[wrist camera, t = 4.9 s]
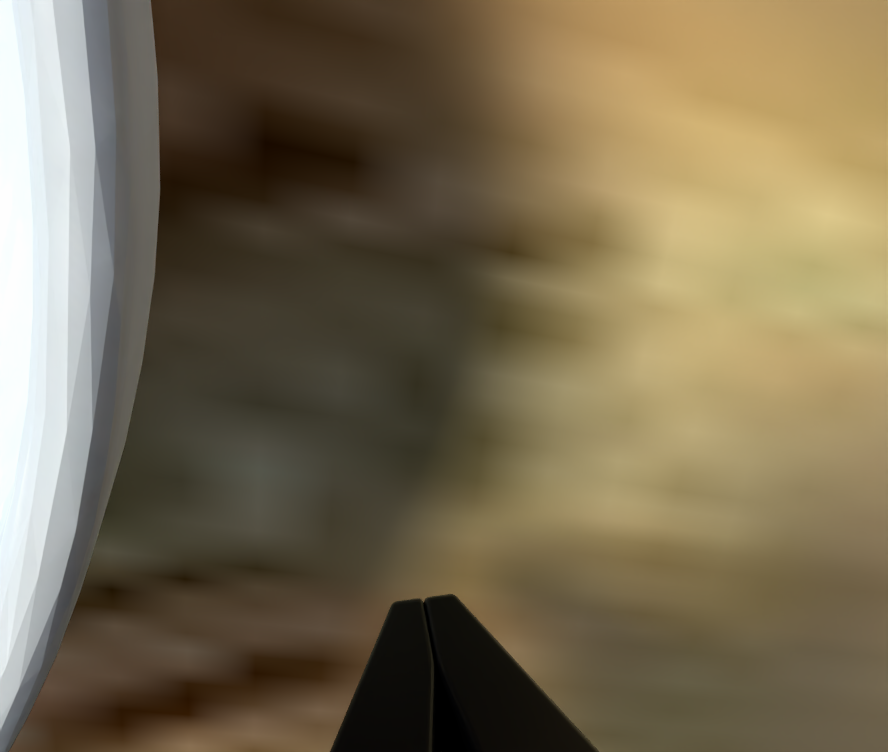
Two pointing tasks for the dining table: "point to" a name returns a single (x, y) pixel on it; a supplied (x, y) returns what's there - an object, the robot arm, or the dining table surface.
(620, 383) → the dining table surface
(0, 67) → the serving bowl
